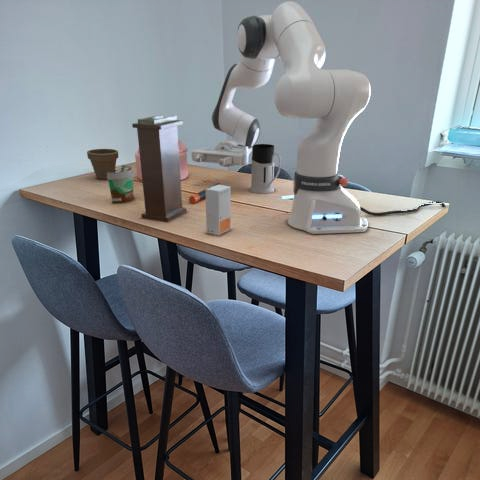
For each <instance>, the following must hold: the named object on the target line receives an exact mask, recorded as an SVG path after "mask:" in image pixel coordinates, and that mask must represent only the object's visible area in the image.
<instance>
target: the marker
mask: <svg viewBox="0 0 480 480" xmlns="http://www.w3.org/2000/svg"><path fill="white" fill-rule="evenodd" d="M216 185H222V184H221V183H220V182H217V183H215V184H213V185H211V186H209V187H207V188H205V189H203V190H201V191H198V192H196V193H194V194H192V195H190V196H189V198H188V202H189V203H190V204H195V203H197V202H199V201H201V200H203V199H206V189H208V188H210V187H212V186H216Z"/></svg>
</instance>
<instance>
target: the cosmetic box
mask: <svg viewBox="0 0 480 480" xmlns="http://www.w3.org/2000/svg"><path fill="white" fill-rule="evenodd" d="M211 186H212V187H211ZM211 186H209V187H210V188H209V187H207V188H208V189H207V188H205V189H206V197H205V227H206V229H205V231H206V234H209V235H213V236H221V235H222V234H225V233H227V232H229V231H231V228H232V227H231V222H232V221H231V217H232V216H231V210H232V208H231V205H232V204H231V199H232V194H231V192H232V191H231V188H232V187H231V186H228V185H223V184H221V185H216V186H213V185H211Z"/></svg>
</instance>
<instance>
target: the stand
mask: <svg viewBox="0 0 480 480" xmlns="http://www.w3.org/2000/svg"><path fill="white" fill-rule="evenodd" d="M131 125H132V129H136V132H137V140H138V149H139V152H140V162H141V172H142V180H141V182H142V190H143V191H142V192H143V201H144V209H145V211H144V212H143V213H141V219H145V220H152V221H157V222H165V223H169V222H171V221H172V220H174V219H176V218H179V217H180V216H181V215H183V214H185V213H187V209H188V208H187V207H183V198H182V197H183V194H182V180H181V178H180V162H179V145H178V140H179V132H178V126H182V125H184V120H183V119H182V120H179V119H178V116H177V115H169V116H165V117H164V114H158V115H153V116H146V117H142V118H137V122H135V123H132V124H131Z"/></svg>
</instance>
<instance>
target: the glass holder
mask: <svg viewBox="0 0 480 480" xmlns="http://www.w3.org/2000/svg"><path fill="white" fill-rule="evenodd" d="M275 156H277V157H278V168H277V171H276V174H275ZM281 168H282V157H281V155H280V154H279V153H277V152H275V145H274V144H271V143H270V144H269V143H256V144H255V145H253V146H252V151H251V170H250V172H251V175H250V176H251V177H250V188H249V191H250V192H252V193H255V194H271V193H273V192H275V188H274V181H275V180H276V179H277V178H278V177H279V175H280V172H281Z"/></svg>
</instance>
